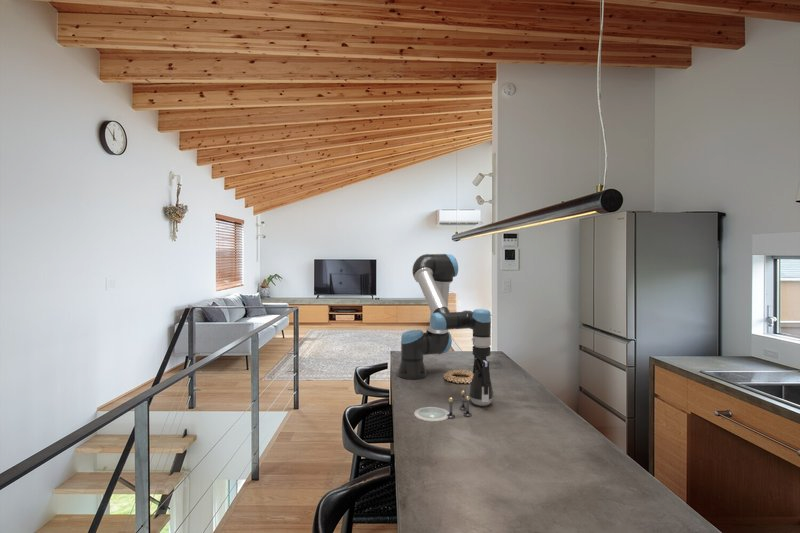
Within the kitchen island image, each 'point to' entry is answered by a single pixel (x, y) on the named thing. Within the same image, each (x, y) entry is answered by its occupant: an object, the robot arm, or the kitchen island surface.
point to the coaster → (431, 414)
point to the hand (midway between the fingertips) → (481, 396)
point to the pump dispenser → (479, 390)
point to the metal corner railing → (463, 399)
